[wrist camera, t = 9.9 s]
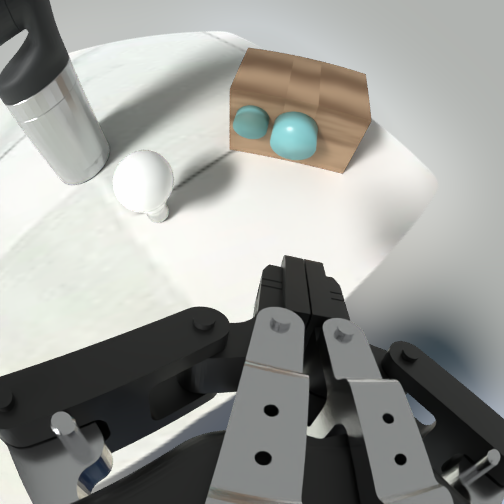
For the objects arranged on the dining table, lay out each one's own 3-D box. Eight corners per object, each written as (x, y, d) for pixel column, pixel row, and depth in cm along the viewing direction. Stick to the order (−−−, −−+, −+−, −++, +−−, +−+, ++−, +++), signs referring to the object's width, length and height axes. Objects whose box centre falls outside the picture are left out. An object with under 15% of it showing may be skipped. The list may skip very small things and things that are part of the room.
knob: (310, 164, 34) (321, 136, 29) (267, 154, 34) (272, 125, 29) (317, 90, 39) (325, 64, 34) (283, 82, 39) (288, 56, 34)
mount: (342, 184, 38) (372, 131, 28) (226, 159, 38) (225, 99, 28) (343, 125, 42) (365, 74, 32) (244, 103, 42) (248, 47, 32)
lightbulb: (129, 206, 35) (98, 155, 25) (173, 185, 37) (156, 128, 26) (145, 247, 34) (112, 203, 23) (192, 225, 35) (177, 172, 25)
